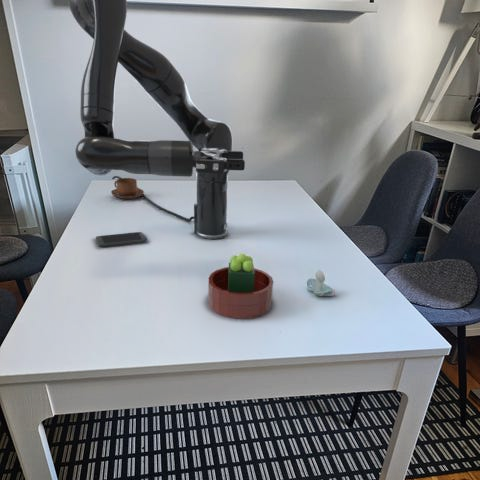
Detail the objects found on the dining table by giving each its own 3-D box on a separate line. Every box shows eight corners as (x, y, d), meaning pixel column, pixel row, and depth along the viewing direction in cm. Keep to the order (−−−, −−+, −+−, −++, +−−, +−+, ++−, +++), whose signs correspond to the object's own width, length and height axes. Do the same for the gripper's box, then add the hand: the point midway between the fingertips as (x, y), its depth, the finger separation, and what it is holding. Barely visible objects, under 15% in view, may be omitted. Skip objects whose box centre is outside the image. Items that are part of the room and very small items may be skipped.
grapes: (228, 306, 103) (229, 258, 97) (227, 295, 108) (229, 248, 102) (252, 307, 104) (255, 259, 98) (251, 295, 109) (254, 249, 103)
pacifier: (321, 284, 117) (302, 288, 114) (325, 262, 114) (306, 265, 111) (340, 296, 112) (321, 301, 109) (344, 273, 108) (325, 277, 106)
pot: (196, 306, 104) (195, 283, 101) (229, 283, 115) (230, 261, 112) (252, 325, 98) (253, 301, 95) (281, 299, 109) (283, 276, 106)
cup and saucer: (106, 199, 171) (104, 183, 168) (119, 191, 181) (117, 175, 178) (137, 202, 170) (136, 185, 166) (148, 193, 180) (147, 178, 177)
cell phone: (95, 238, 137) (95, 236, 136) (141, 233, 142) (141, 231, 141) (99, 247, 131) (98, 244, 131) (147, 242, 136) (147, 239, 135)
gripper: (167, 147, 94) (246, 149, 94) (173, 135, 106) (243, 137, 107) (168, 183, 97) (244, 185, 98) (174, 168, 110) (241, 170, 110)
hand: (243, 160), depth 102 cm, fingers open, 8 cm apart
